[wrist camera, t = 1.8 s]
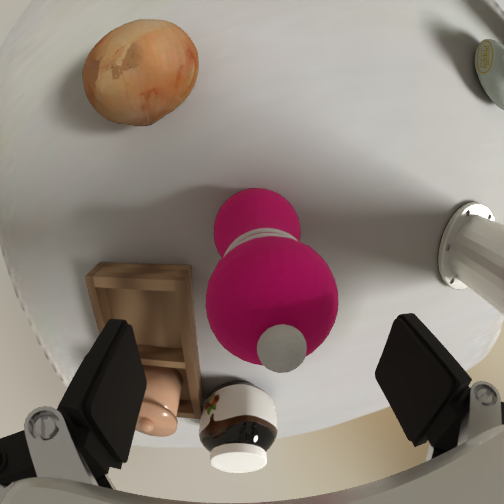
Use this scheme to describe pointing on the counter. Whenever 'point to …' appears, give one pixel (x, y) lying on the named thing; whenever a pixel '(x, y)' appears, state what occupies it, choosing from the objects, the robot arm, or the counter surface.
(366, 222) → the counter surface
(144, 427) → the salt crock
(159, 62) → the onion
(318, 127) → the counter surface
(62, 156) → the counter surface
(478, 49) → the air freshener
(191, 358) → the caddy
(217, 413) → the spread jar
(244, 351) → the pepper mill
